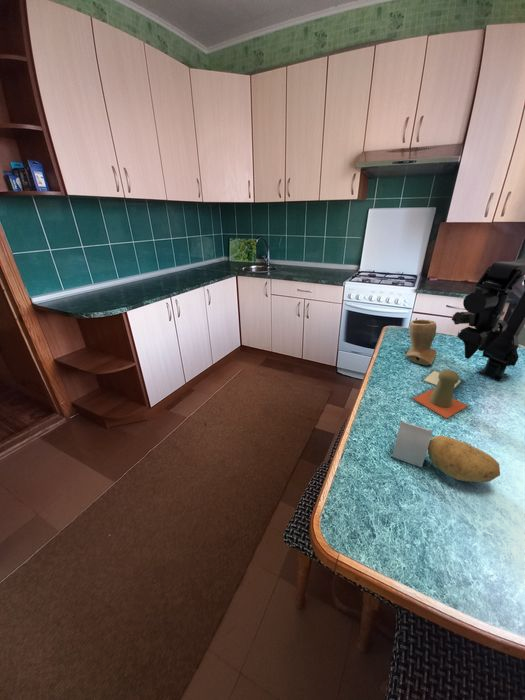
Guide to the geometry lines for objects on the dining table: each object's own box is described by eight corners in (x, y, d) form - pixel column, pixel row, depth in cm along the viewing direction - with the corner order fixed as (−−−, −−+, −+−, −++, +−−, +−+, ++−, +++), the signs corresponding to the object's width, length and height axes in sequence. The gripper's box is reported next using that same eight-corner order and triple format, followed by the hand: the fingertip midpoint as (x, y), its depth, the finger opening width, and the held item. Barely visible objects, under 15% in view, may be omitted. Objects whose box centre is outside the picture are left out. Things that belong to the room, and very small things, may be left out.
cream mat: (433, 371, 108) (434, 370, 107) (461, 381, 101) (461, 380, 101) (423, 380, 102) (423, 379, 102) (451, 391, 96) (451, 390, 96)
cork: (456, 406, 89) (467, 376, 84) (438, 409, 88) (448, 378, 83) (441, 395, 94) (451, 365, 89) (425, 397, 93) (433, 368, 88)
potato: (490, 504, 61) (504, 478, 57) (418, 471, 69) (426, 446, 65) (493, 473, 68) (506, 448, 64) (427, 446, 75) (435, 422, 72)
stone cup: (407, 346, 126) (415, 313, 120) (438, 353, 120) (448, 319, 113) (397, 359, 116) (404, 324, 109) (429, 368, 109) (440, 332, 102)
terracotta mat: (433, 389, 98) (433, 388, 98) (467, 406, 89) (467, 405, 89) (412, 399, 93) (412, 398, 93) (446, 419, 85) (446, 418, 84)
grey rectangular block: (421, 467, 69) (432, 436, 65) (391, 456, 73) (399, 426, 68) (423, 457, 72) (433, 426, 68) (394, 447, 75) (401, 417, 71)
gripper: (475, 295, 95) (461, 338, 102) (446, 306, 86) (432, 352, 93) (516, 304, 87) (497, 350, 94) (489, 316, 78) (470, 366, 85)
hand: (473, 354), depth 92 cm, fingers open, 9 cm apart
